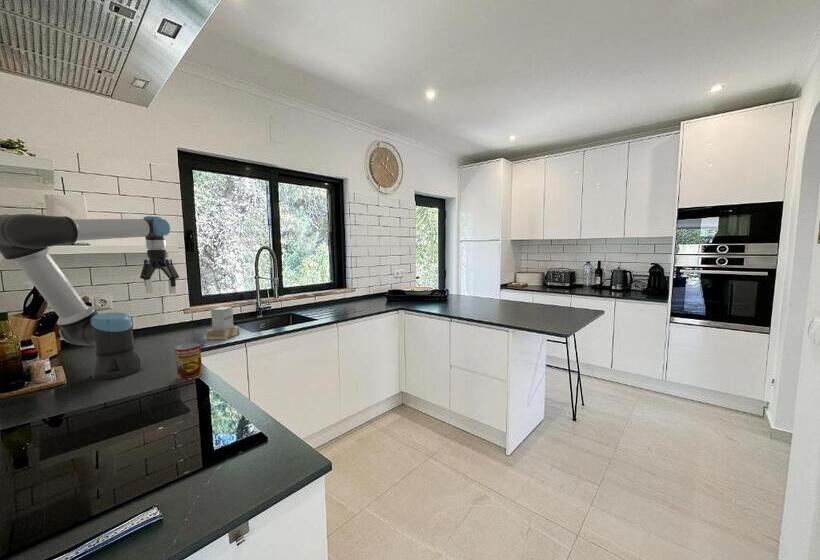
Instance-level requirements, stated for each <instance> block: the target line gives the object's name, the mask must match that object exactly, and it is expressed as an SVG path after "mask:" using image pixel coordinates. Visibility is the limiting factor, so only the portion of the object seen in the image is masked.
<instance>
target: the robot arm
mask: <svg viewBox="0 0 820 560" xmlns="http://www.w3.org/2000/svg"><path fill="white" fill-rule="evenodd" d="M171 228H172V227H171V224H170V222H169V221H168V220H166V219H164V218H163V217H161V216H151V215H150V216H148V215H147V216H144V217H143V218H98V219H97V218H92V219H90V218H88V219H87V218H85V219H80V218H79V219H78V218H75V219H73V218H72V217H70V216H67V215H66V216H59V215H57V216H56V215H55V216H54V215H45V214H36V213H34V214H33V213H19V214H18V213H17V214H6V213H5V214H0V254H1V256H2V257H3V258H4V259H5V260H6V261H9V262H14V263H15V264H16V265H17V266H18V267H19V268H20V270H21V271H22V272H23V273H24V275H25V276H26V277H27V279H28V280H29V281H30V283H31V284H32V285H33V286H34V287H35V289H36V290H37V291H38V292H39V294H40V295H41V297H42V298H43V299H44V300H45V301H46V303H48V305H49V306H50V307H51V309H52V310H53V311H54V312H55V314H56V315H57V316H58V319H57V321H56V323H57V325H58V326H59V329H58V333H59V336H60V337H61V339H62V340H64V341H65V342H66V343H69V344H72V345H75V346H88V347H89V346H91V347H94V352H95V359H94V363H93V368H92V371H91V378H92V379H93V380H95V381H96V380H97V381H104V380H105V381H106V380H114V379H119V378H122V377H126V376H130V375H132V374H135V373H137V372H139V371H141V370H142V369H143V363H142V361H141V359H140V357H139V355H138V354H137V352H136V349H135V341H134V333H133V322H132V319H131V316H130V315H128V313H124V312H103V313H99V312H98V311H97V310H96V308H95V307H93V306H90V305H86V303H85V301H84V300H83V299H82V297H81V296H80V294H79V292H77V290H76V289H75V287H74V286H73V285H72V283H71V282H70V280H69V279H68V278H67V276H65V274H64V273H63V271H62V270H61V268H60V267H59V266H58V264H57V262H56V261H55V260H54V259H53V257H52V256H51V254H50V253H49V252H48V251H49V249H50V247H55V246H56V247H57V246H62V245H72V244H75V243H77V241H78V242H79V241H92V240H94V241H97V240H109V239H111V240H112V239H126V238H127V239H128V238H142V237H143V238H145V245H146V246H145V247H146V249H147V250H146V254H147V258H149V259H143V266H142V270H141V272H140V276H139V278H140V279H143V280H144V286H145V292H146V294H153V293H154V291H153V288H154V287H153V280H152V276H153V274H154V273H155V271H156V270H158V269H159V270H162V271H163V273H164V274H165V276H166V277H167V278H168V281H167V282H168V293H169V295H170V294H176V285H177V284H176V282H177V281H176V280H177V279H179V278H180V276H179V274H178V271H177V270H176V268H175V266H174V264H173V260H172V258H171V259H170V258H168V259H167V257H168V253H167V250H166V249H167V245H166V244H167V243H166V236H168V235H169V234H170V233H171V231H172V229H171Z"/></svg>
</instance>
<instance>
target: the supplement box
mask: <svg viewBox="0 0 820 560" xmlns="http://www.w3.org/2000/svg"><path fill="white" fill-rule="evenodd" d="M210 315H211V316H210V317H211V326H212V328H211V329H213V331H226V330H229V329H231V328H234V326H235V325H234V315H233V307H232V306H219V307H216V308H212V309H211V310H210Z"/></svg>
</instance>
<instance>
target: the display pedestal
mask: <svg viewBox="0 0 820 560" xmlns="http://www.w3.org/2000/svg"><path fill="white" fill-rule="evenodd" d="M205 333H206V340H214V339H226V340H228V339H227V338H229V339H231V338H234V337H235V335H236V336H238V334H239V335H240V326H239V325H238V326H237V325H234V328H231V329H229V330H226V331H213V328H210V329H208V330H205ZM233 336H234V337H233ZM230 337H231V338H230Z"/></svg>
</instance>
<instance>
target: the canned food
mask: <svg viewBox="0 0 820 560" xmlns="http://www.w3.org/2000/svg"><path fill="white" fill-rule="evenodd" d="M174 349H175V350H174V352H175V360H176V370H177V371H176V372H177V379H178V378H179V379H188V378H193V377H196V376H199V375H201V374H202V373H203V365H202V354H201V353H202V351H201V344H200V343H199V342H187V343H181V344H179V345H177V346H175V347H174ZM202 375H203V374H202ZM202 375H201V376H202ZM179 379H178V380H179Z"/></svg>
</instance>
